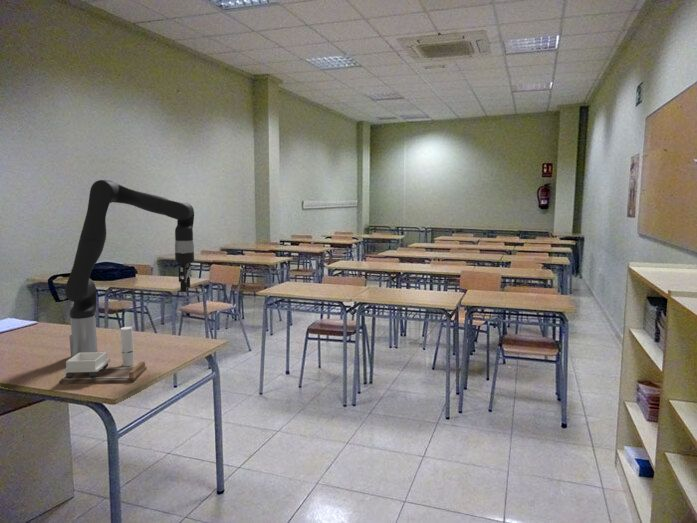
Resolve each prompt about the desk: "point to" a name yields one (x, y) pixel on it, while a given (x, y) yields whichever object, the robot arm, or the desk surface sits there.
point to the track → (107, 375)
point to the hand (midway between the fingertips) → (185, 289)
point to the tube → (127, 346)
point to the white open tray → (86, 363)
